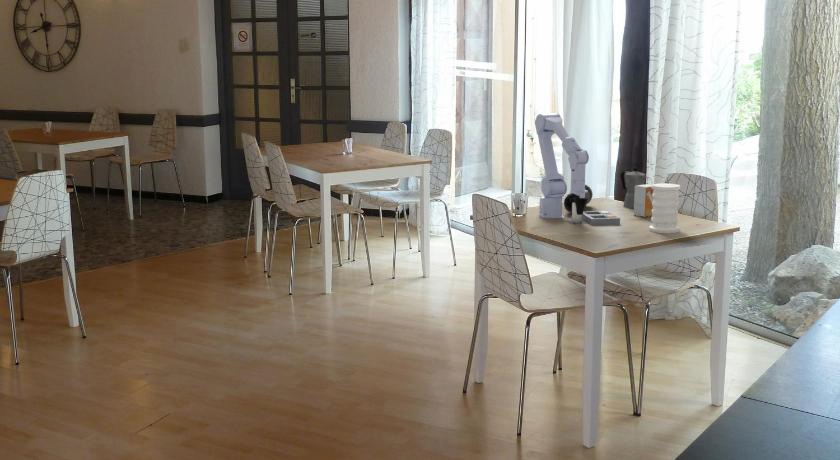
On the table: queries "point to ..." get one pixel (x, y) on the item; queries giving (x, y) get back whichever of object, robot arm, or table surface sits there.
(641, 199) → the small box
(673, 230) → the decorative container
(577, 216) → the plug
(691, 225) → the table surface
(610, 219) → the socket board
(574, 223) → the plug mat
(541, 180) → the robot arm
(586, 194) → the muzzle brake
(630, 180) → the coffeepot
